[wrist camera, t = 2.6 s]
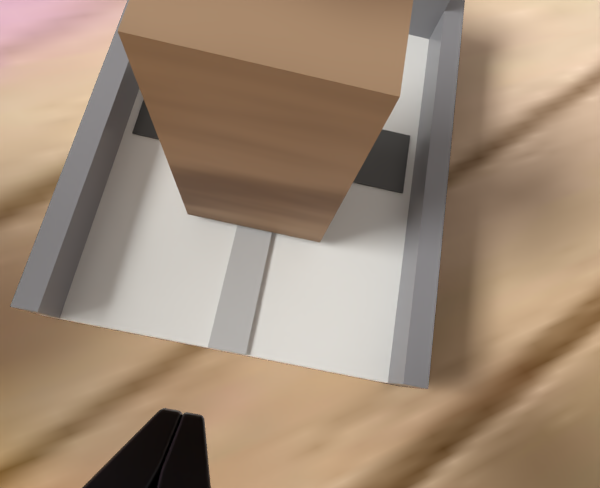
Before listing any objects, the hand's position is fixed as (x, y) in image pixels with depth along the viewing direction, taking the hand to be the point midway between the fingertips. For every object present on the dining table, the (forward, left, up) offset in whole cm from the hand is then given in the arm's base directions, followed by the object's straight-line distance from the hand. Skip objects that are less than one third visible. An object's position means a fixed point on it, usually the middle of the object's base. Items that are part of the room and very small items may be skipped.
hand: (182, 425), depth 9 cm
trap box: (+10, -6, -11) cm, 16 cm away
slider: (+8, -5, -9) cm, 14 cm away
